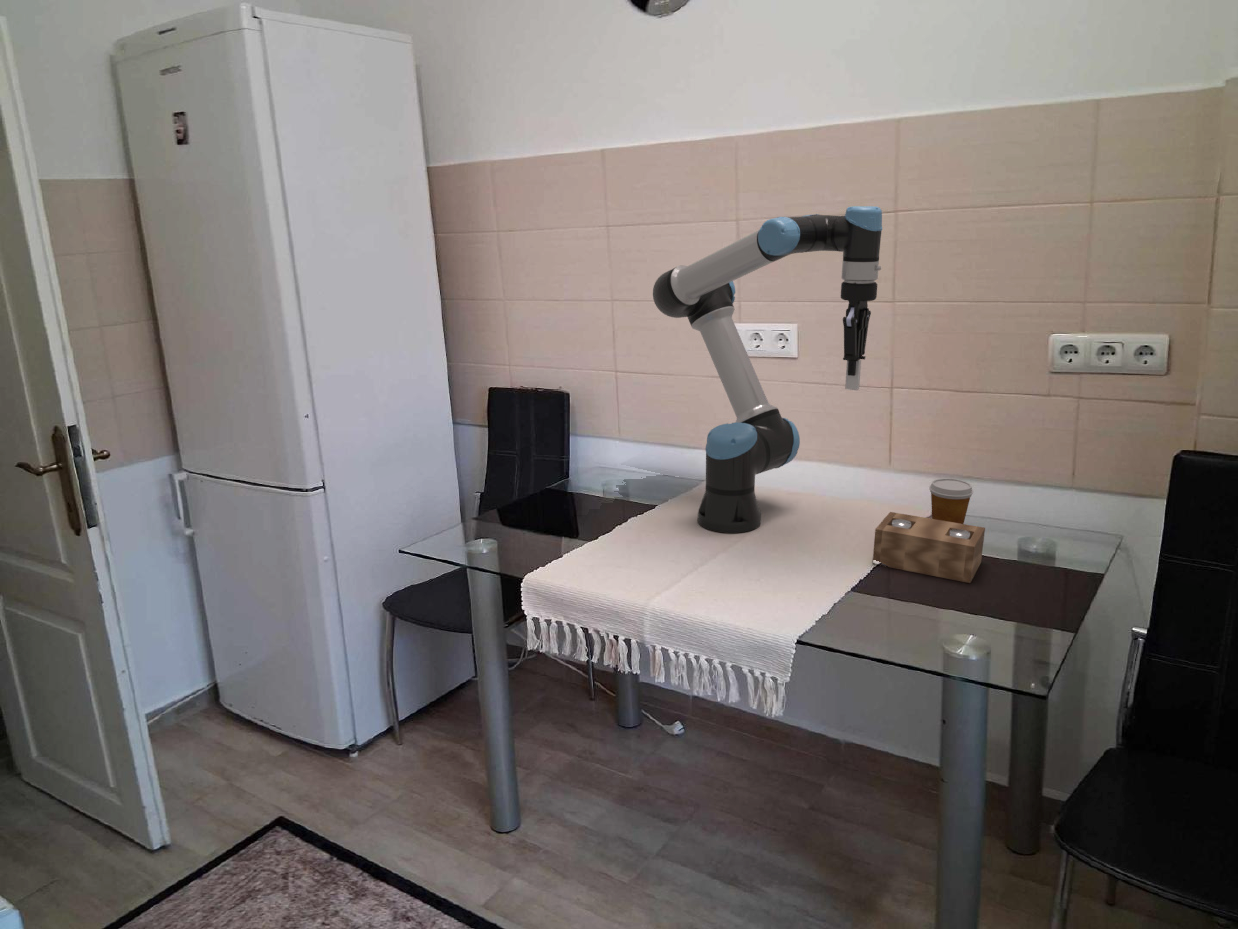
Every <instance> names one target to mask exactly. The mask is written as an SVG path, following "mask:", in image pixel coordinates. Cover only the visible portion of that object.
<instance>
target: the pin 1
mask: <svg viewBox="0 0 1238 929" xmlns="http://www.w3.org/2000/svg"><path fill="white" fill-rule="evenodd" d="M892 526H895V527H901V528H906V529H911V522H910V521H907V520H903V519H896V520H893V521H892Z"/></svg>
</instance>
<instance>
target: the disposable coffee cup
mask: <svg viewBox="0 0 1238 929" xmlns="http://www.w3.org/2000/svg"><path fill="white" fill-rule="evenodd" d="M928 487H929V492H930V500H931V503H930V504H931V505H930V506H931V519H936V520H942V521H948V522H954V523H960V524H965V520H966V515H967V512H968V509H969V504H970V500H971V497H972V495H974V489H973V486H972V484H971V483H970V482H967V481H965V480H962V479H957V478H947V477H946V478H937V479H933V480H932V481H931V484H930V485H929V486H928Z"/></svg>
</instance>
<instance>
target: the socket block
mask: <svg viewBox="0 0 1238 929" xmlns="http://www.w3.org/2000/svg"><path fill="white" fill-rule="evenodd" d="M896 519H903V520H907V521H910V522H911V529H906V528H901V527H895V526H892V521H893V520H896ZM953 529H961V530H966V531H968V532H969V533H970V539H963V538H958V537H952V536H949V534H950V530H953ZM985 532H986V527H982V526H977V525H972V524H971V525H970V524H965V523H964V524H960V523H954V522H948V521H942V520H936V519H932V518H930V517H923V516H917V515H911V514H904V513H901V512H900V513H899V512H893V511H889V513H888V514H887V515H886V516H885V517H884V518H883V519H882V521H880V523H879V524H878V525H877V527H876V528H875V529H874V542H873V554H872V555H873V556H872V561H873V560H876V561H879V562H881V563H882V564H885V565H887V566H888V568H891V569H892V568H893V569H897V570H902V571H907V572H911V573H912V572H913V573H917V574H922V575H927V576H933V577H937V578H942V579H948V580H951V581H957V582H962V583H968V584H971V583H972V580H973V579H974V577H975V575H976V573H977V571H978V569H979V567H980V565H981V563H982V556H983V547H984V540H985Z"/></svg>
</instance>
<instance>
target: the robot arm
mask: <svg viewBox="0 0 1238 929" xmlns="http://www.w3.org/2000/svg"><path fill="white" fill-rule="evenodd" d="M882 231H883V211H882V209H881V208H880V206H873V205H869V206H864V205H860V206H859V205H858V206H853V205H851V206H848V207H846V210H845V214H844V215H833V214H832V215H830V214H829V215H828V214H819V213H818V214H817V213H816V214H807V215H806V214H805V215H803V216H777V217H774V218H770V219H767V220H766V221H764V222H763V224H762V225H761V227H760V228H759V229H758V230H756V231H754V232H753V233H750V234H749V235H747V236H744V237H743V238H740V239H739V240H737V241H734V242H733V243H731V244H729V245H727V246H724V247H723V248H721V249H719V250H717V251H715V252H713V253H711V254H708V255H707V256H705V257H703V258H701V259H699V260H697V261H695V262H693V263H692V264H689V265H678V266H675V267H674V268H672V269H670V270H667V271H666V272H663V273H662V274H661V275H660V276H658V278H657V279H656V280H655V282H654V284H653V288H652V298H653V302H654V305H655V307H656V309H658V310H659V311H660V312H661V313H662V314H663V315H665V316H666V317H670V318H675V319H677V318H678V319H679V318H687V319H688V322H689V324H690V326H691V328H692V329H693V330H696V331H699V333H700V334H701V337H702V339H703V341H704V344H705V346H706V349H707V351H708V354H709V356H710V359H711V360H712V363H713V364H714V367H715V370H716V372H717V374H718V377H719V379H720V382H721V384H722V386H723V388H724V391H725V393H726V395H727V398H728V400H729V402H730V405H731V407H732V409H733V412H734V414H735V416H736V420H735V422H732V423H728V422H727V423H722V424H719V425H717V426H714V427H713V428H711V429H710V431H709V432H708V434H707V436H706V445H705V492H704V494H703V498H702V500H701V503H700V505H699V509H698V511H697V523H698V525H700V527H702V528H704V529H706V530H709V531H713V532H718V533H728V534H738V533H745V532H746V533H747V532H751V531H754V530H756V529H757V528H759V527H760V526H761V524H762V521H761V520H762V513H761V510H760V507H759V504H758V503H759V502H758V499H757V497H756V496H757V495H756V494H755V492H756V491H755V486H756V485H755V484H756V475H759V474H762V473H765V472H767V471H770V470H774V469H780V468H781V467H783V466H785V465H787V464H789V463H791V462H792V461H793V460H794V459H795V457H796V456H797V454H798V450H799V448H800V445H801V441H800V440H801V438H800V434H799V430H798V428H797V426H796V425H795V423H794V422H793V421H791V420H789V419H788V418H786V417H782V416H781V415H782V414H781V413H780V410H779V408H778V407H777V406H774V405H772V404H770V403H769V400H768V399H767V396H766V394H765V391H764V390H763V387H762V385H761V381H760V380H759V378H758V375H757V373H756V371H755V368H754V367H753V363H752V361H751V359H750V357H749V354H748V352H747V349H746V347H745V345H744V343H743V340H742V339H741V336H740V334H739V331H738V329H737V327H736V326H737V325H736V324H735V322H734V319H733V315H734V312H735V311H736V310H735V307H734V302H735V299H736V296H735V294H736V286H735V283H734V281H735V280H739V278H742V277H744V276H746V275H748V274H750V273H753V272H755V271H758V270H759V269H761V268H763V267H766V266H768V265H770V264H772V263H775V262H776V261H779V260H782V259H783V258H785V257H788V256H790V255H792V254H800V253H810V252H839V253H840V252H842V266H841V267H842V268H841V269H842V270H841V279H842V280H843V281H842V282H841V283H840V285H841V286H840V299H841V300H843V301H847V302H848V306H847V308H846V310H845V316H843V318H842V324H843V358H842V360H843V361H846V370H845V371H846V372H845V385H844V386H845V387H844V389H845V390H850V391H858V390H860V383H861V382H860V381H861V370H862V369H861V368H862V365H861V364H862V360H866V356H865V354H866V352H865V351H866V346H867V336H868V331H869V330H868V328H869V325H870V324H869V323H870V318H871V314H872V312H871V310H870V308H868V302H871V301H872V302H873V301H875V300H876V299H877V297H878V295H877V293H878V283H877V282H876V281H877V280H878V279H879V271H881V270H882V267H881V265H879V264H880V250H881V249H880V248H881V238H882Z"/></svg>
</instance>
